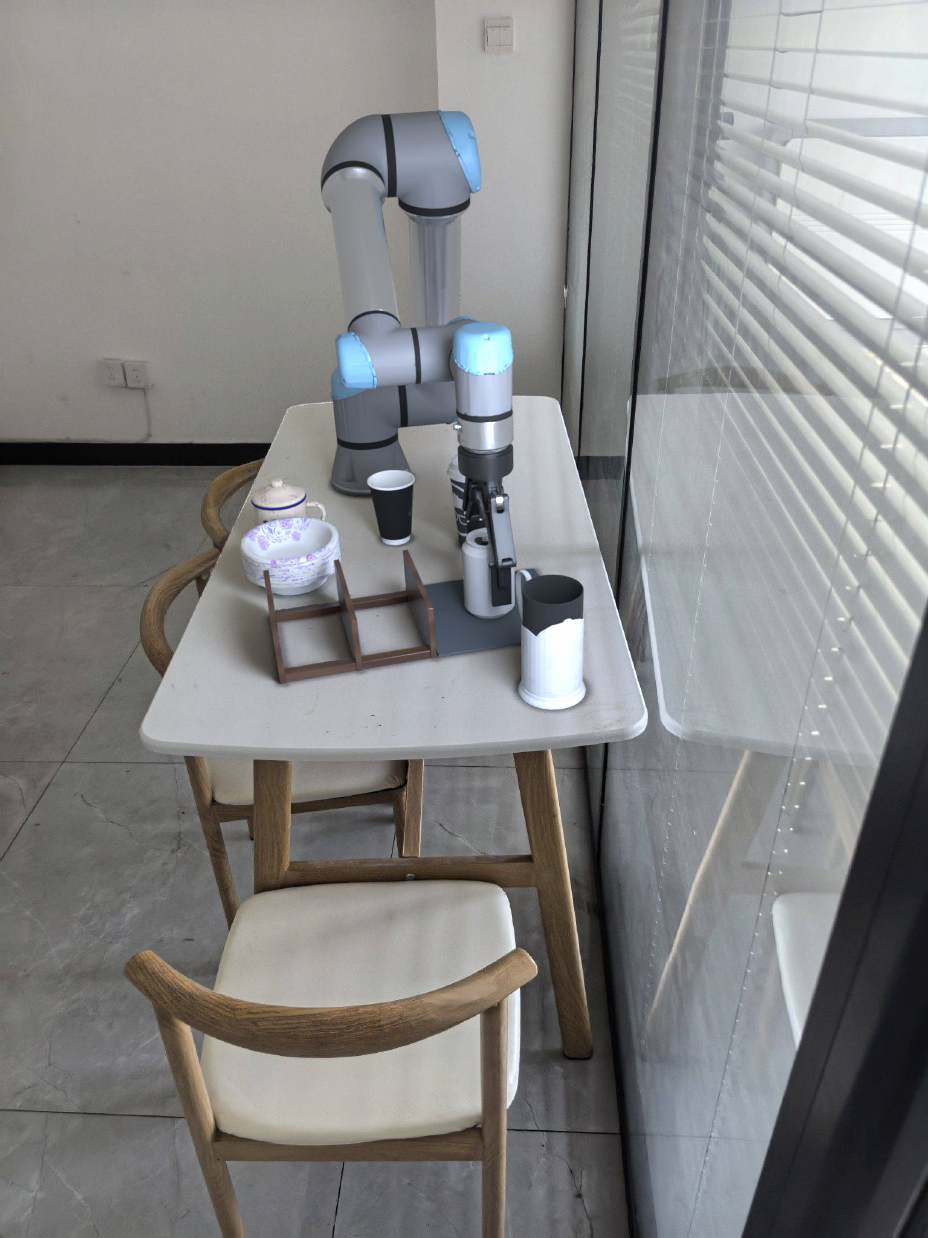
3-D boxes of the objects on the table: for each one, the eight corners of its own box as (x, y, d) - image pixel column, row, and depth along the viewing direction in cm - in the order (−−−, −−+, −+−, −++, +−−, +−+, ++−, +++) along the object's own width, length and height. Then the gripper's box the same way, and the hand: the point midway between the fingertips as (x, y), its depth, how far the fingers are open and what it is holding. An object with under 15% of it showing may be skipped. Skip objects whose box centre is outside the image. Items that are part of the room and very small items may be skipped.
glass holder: (537, 716, 120) (537, 613, 113) (489, 660, 132) (486, 563, 124) (598, 698, 123) (602, 596, 116) (546, 644, 135) (547, 548, 127)
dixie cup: (364, 537, 166) (358, 477, 160) (403, 524, 169) (399, 465, 164) (387, 553, 160) (382, 492, 154) (428, 540, 164) (424, 480, 158)
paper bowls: (290, 616, 144) (283, 569, 140) (227, 586, 153) (219, 541, 148) (363, 576, 153) (359, 531, 149) (300, 550, 162) (294, 507, 158)
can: (456, 602, 145) (453, 530, 138) (501, 591, 147) (500, 520, 141) (476, 626, 139) (474, 551, 132) (523, 614, 141) (523, 540, 135)
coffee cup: (501, 557, 157) (500, 472, 149) (444, 554, 159) (440, 469, 151) (511, 532, 165) (510, 449, 157) (456, 529, 167) (452, 447, 159)
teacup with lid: (256, 557, 161) (246, 493, 154) (260, 533, 168) (250, 471, 162) (329, 551, 161) (321, 487, 155) (329, 528, 169) (322, 466, 163)
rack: (270, 617, 144) (262, 570, 140) (411, 595, 148) (407, 549, 144) (280, 684, 129) (272, 633, 125) (436, 657, 133) (433, 607, 129)
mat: (410, 589, 150) (410, 587, 149) (534, 570, 153) (534, 568, 153) (438, 657, 133) (438, 655, 133) (576, 634, 137) (576, 632, 136)
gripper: (437, 416, 139) (444, 548, 150) (482, 482, 118) (486, 629, 129) (488, 410, 141) (491, 541, 152) (540, 474, 120) (539, 620, 131)
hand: (489, 582), depth 141 cm, fingers open, 13 cm apart
